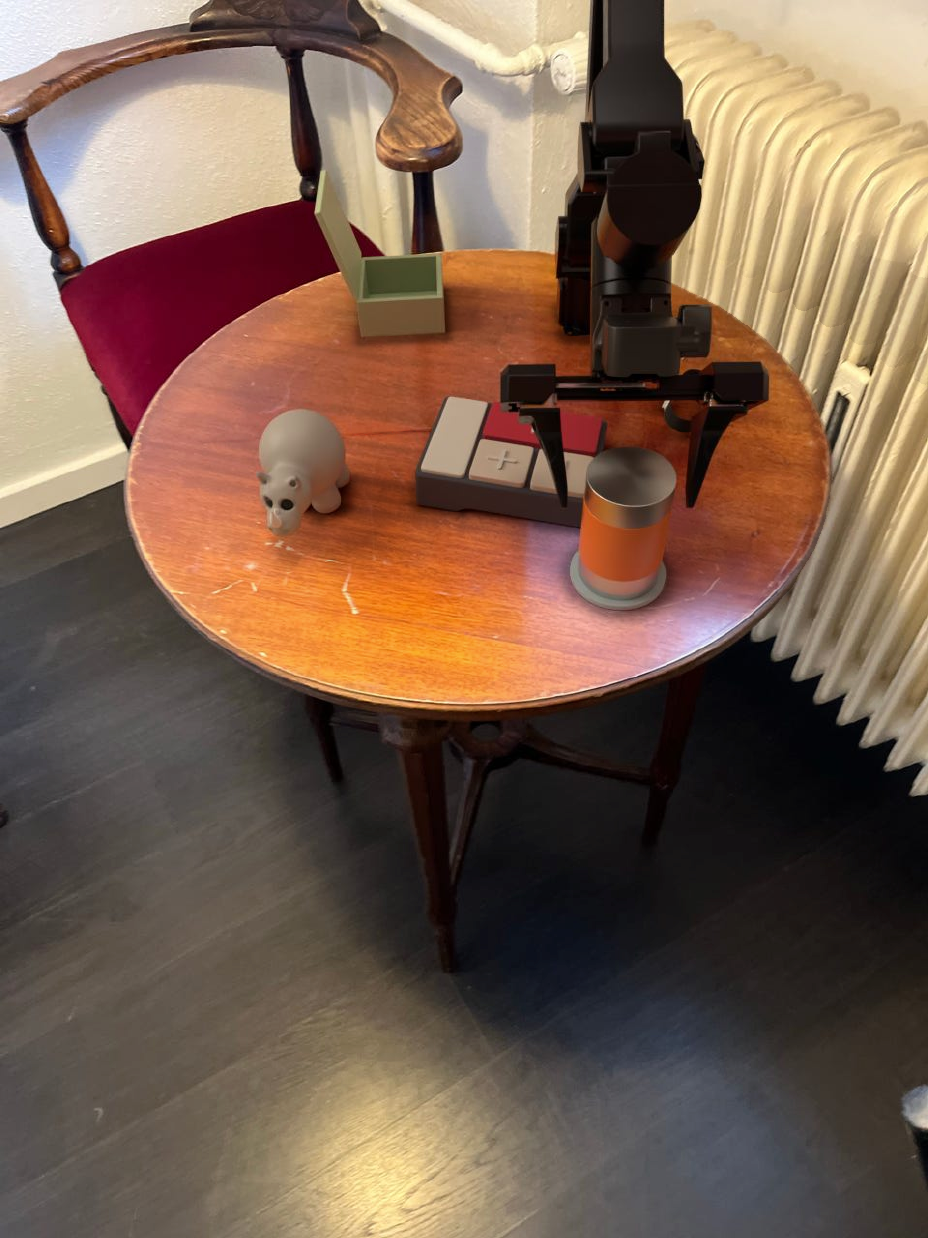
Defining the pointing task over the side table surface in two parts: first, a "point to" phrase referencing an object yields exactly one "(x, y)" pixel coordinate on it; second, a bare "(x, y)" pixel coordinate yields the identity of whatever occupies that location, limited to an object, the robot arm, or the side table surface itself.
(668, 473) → the can
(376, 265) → the box
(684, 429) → the watch
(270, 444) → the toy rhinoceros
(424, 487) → the button control panel
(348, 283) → the box lid
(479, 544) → the side table surface
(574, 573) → the coaster
